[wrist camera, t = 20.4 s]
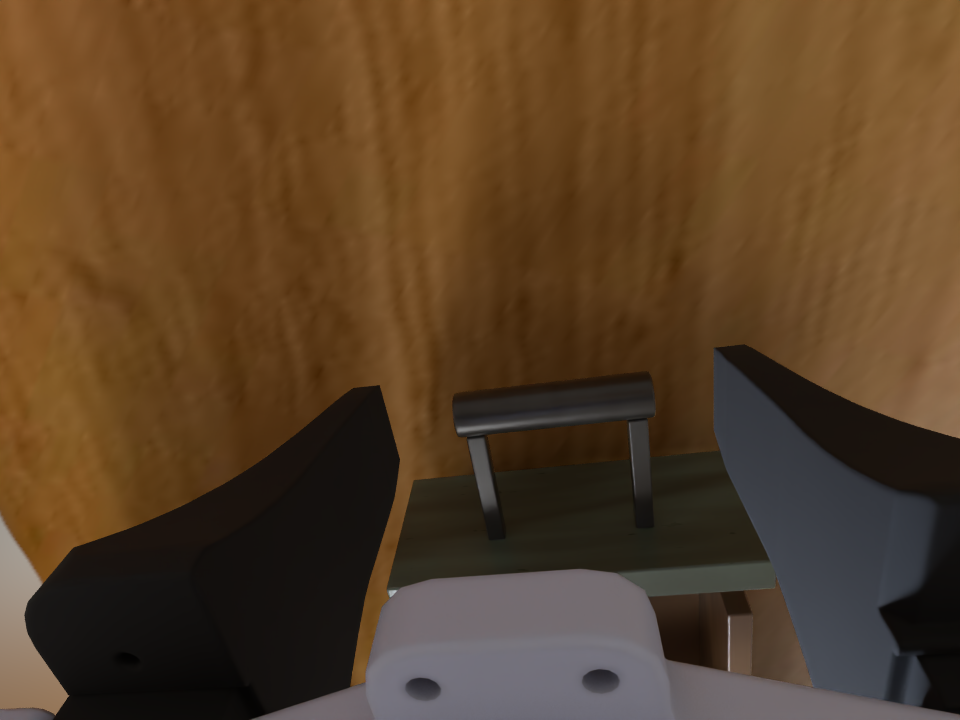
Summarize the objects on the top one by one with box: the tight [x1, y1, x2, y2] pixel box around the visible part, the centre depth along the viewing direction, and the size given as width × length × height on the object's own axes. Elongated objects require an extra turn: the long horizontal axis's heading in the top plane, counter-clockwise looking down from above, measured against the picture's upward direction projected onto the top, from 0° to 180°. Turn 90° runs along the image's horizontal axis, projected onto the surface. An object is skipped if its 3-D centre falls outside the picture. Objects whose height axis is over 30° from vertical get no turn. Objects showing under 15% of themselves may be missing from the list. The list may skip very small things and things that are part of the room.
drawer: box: [387, 371, 776, 675], centre depth 25 cm, size 20×12×6 cm, turn 10°
